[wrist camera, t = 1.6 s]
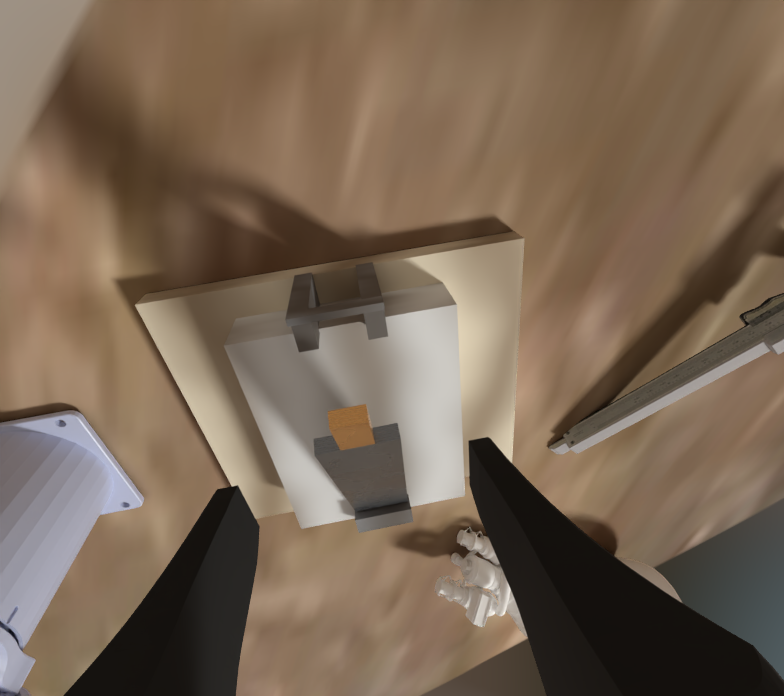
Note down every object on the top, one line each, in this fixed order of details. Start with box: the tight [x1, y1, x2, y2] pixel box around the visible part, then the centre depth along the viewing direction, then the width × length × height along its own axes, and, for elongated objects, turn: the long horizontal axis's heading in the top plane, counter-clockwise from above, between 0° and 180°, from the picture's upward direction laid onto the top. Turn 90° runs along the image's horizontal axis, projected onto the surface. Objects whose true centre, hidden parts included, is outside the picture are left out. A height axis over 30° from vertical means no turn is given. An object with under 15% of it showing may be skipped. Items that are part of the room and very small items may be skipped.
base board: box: [135, 231, 524, 533], centre depth 21 cm, size 18×16×6 cm
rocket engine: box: [435, 527, 682, 637], centre depth 32 cm, size 12×12×18 cm
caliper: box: [549, 293, 784, 454], centre depth 23 cm, size 20×1×6 cm, turn 141°
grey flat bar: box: [313, 404, 408, 512], centre depth 17 cm, size 3×13×1 cm, turn 7°
